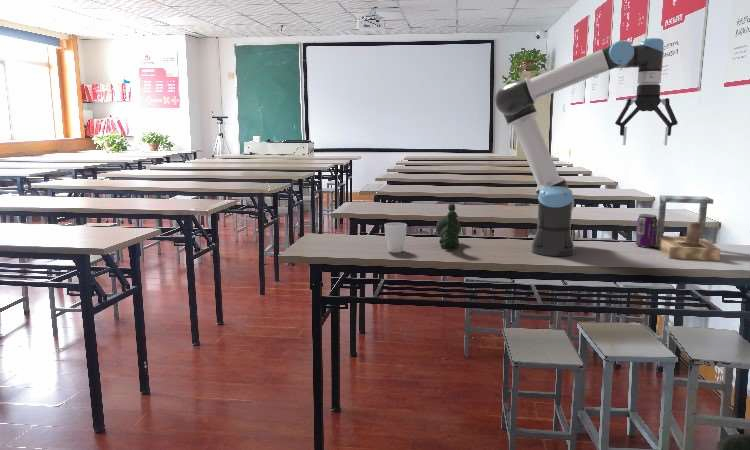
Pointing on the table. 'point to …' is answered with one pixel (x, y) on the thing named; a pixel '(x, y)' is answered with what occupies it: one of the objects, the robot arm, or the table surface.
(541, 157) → the robot arm
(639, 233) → the beverage can
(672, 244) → the socket station
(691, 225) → the peg
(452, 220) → the toy figurine
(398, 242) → the cup
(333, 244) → the table surface
